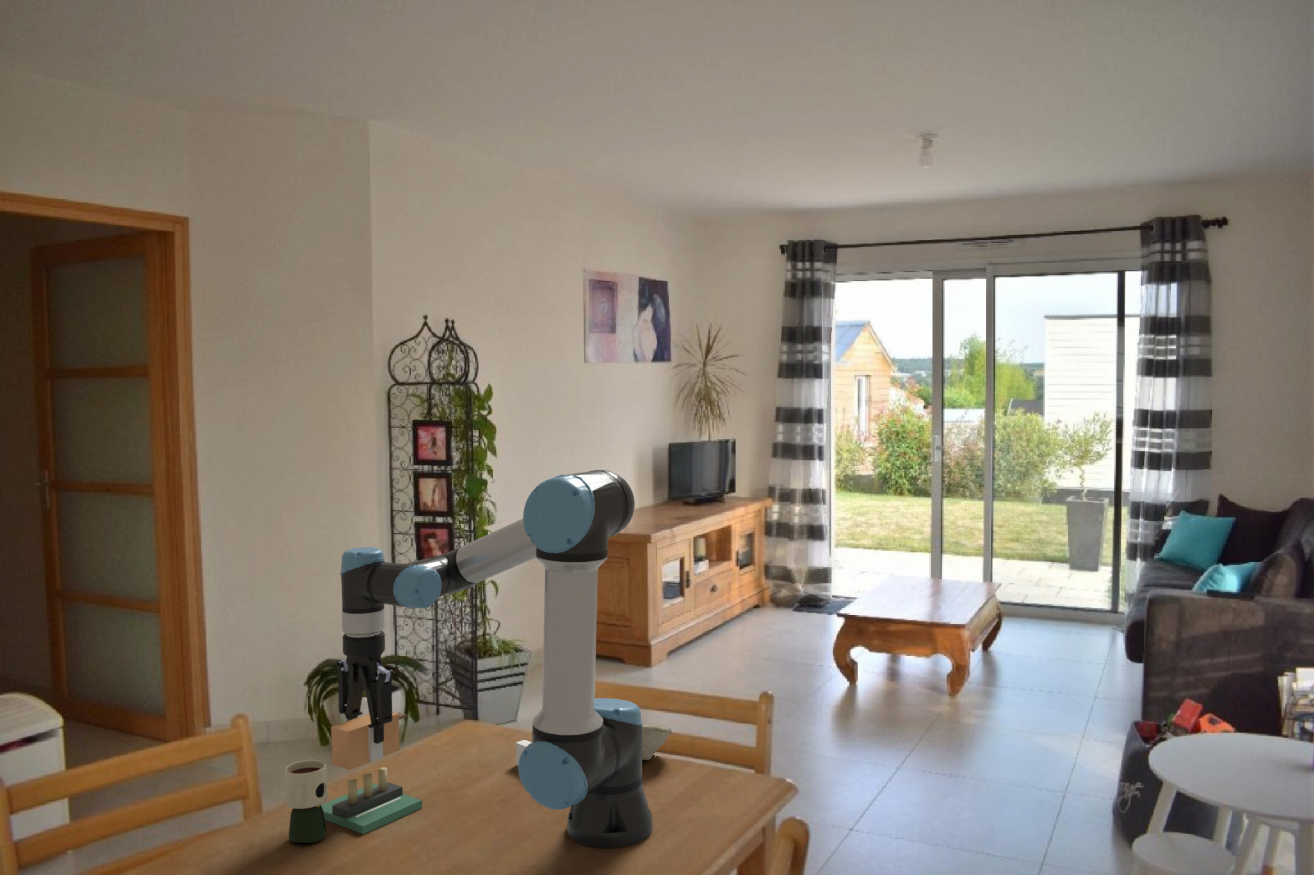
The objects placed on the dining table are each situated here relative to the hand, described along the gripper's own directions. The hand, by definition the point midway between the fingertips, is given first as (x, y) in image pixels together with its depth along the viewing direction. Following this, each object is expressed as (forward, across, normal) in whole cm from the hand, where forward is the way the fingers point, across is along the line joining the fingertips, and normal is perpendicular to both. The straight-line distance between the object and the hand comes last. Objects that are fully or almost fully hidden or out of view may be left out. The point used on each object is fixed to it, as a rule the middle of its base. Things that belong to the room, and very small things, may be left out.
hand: (366, 755), depth 192 cm
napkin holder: (+11, -13, -32) cm, 36 cm away
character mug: (+11, -1, +14) cm, 17 cm away
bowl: (+11, -26, -49) cm, 57 cm away
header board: (+11, 0, 0) cm, 11 cm away
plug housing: (0, 0, -2) cm, 2 cm away
